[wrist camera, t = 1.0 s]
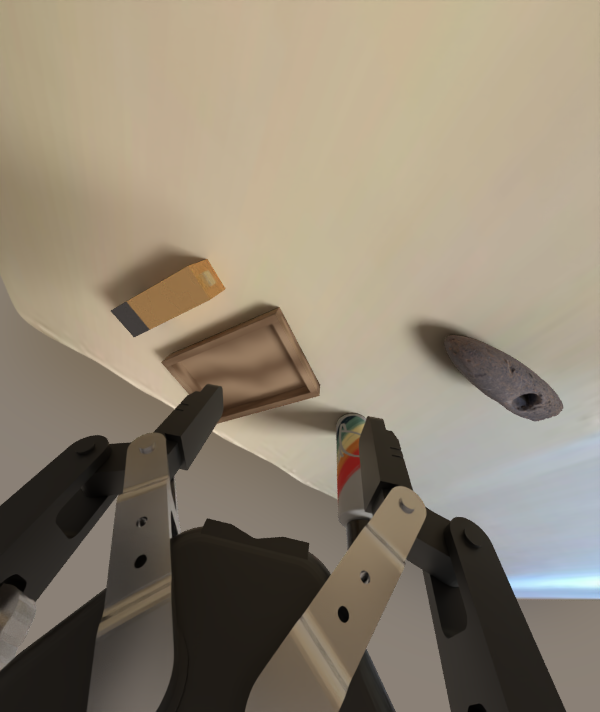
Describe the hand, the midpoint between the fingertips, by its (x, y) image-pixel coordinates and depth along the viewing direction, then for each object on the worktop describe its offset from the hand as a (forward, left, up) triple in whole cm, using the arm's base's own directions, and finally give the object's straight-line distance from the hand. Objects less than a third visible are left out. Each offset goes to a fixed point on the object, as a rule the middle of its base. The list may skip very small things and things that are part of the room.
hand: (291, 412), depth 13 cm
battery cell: (-8, -17, -20) cm, 27 cm away
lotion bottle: (+23, -3, -20) cm, 31 cm away
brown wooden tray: (+6, -15, -20) cm, 25 cm away
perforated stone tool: (+16, +17, -20) cm, 31 cm away
